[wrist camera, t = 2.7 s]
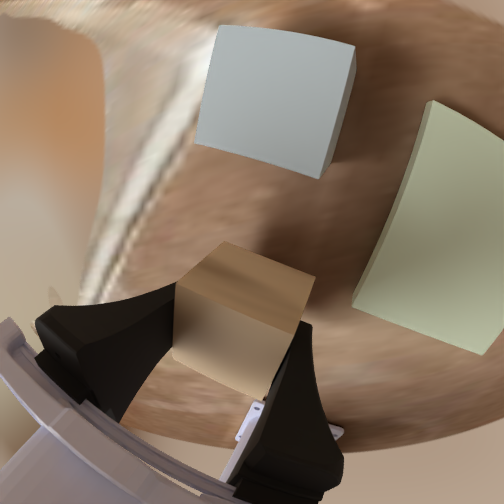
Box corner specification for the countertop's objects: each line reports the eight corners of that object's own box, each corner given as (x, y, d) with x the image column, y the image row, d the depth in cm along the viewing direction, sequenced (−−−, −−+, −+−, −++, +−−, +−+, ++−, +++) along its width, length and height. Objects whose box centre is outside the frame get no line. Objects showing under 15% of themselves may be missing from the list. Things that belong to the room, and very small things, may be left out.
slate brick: (330, 163, 12) (318, 179, 8) (238, 135, 13) (194, 143, 9) (356, 70, 10) (355, 46, 6) (259, 48, 10) (219, 25, 7)
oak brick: (286, 344, 15) (261, 401, 11) (211, 311, 16) (172, 358, 12) (315, 277, 12) (294, 335, 9) (224, 241, 13) (175, 283, 10)
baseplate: (477, 341, 12) (482, 355, 11) (352, 293, 14) (351, 306, 13) (559, 191, 7) (570, 197, 6) (426, 102, 9) (433, 99, 8)
